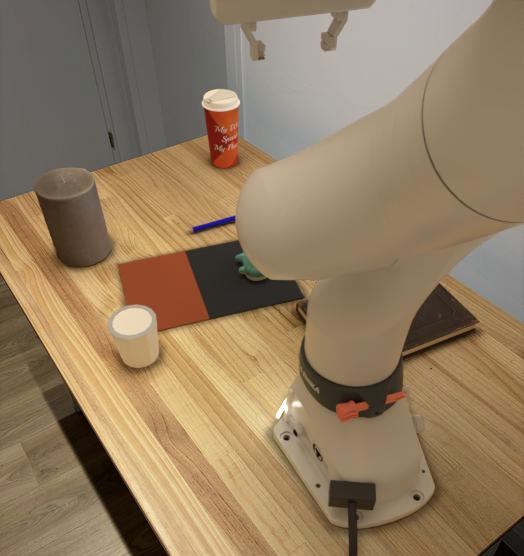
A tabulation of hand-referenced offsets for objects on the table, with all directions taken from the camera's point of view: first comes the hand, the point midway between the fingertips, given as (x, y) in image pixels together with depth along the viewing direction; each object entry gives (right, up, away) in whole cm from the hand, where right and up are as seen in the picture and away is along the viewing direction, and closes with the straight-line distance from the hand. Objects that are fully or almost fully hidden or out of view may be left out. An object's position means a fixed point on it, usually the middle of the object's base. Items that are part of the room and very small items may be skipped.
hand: (293, 54), depth 69 cm
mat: (-13, -26, +24) cm, 38 cm away
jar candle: (-22, -38, +13) cm, 46 cm away
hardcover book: (+15, -33, +18) cm, 40 cm away
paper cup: (-12, +4, +50) cm, 52 cm away
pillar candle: (-36, -19, +30) cm, 51 cm away
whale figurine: (-6, -24, +26) cm, 35 cm away
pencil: (-10, -13, +35) cm, 39 cm away
